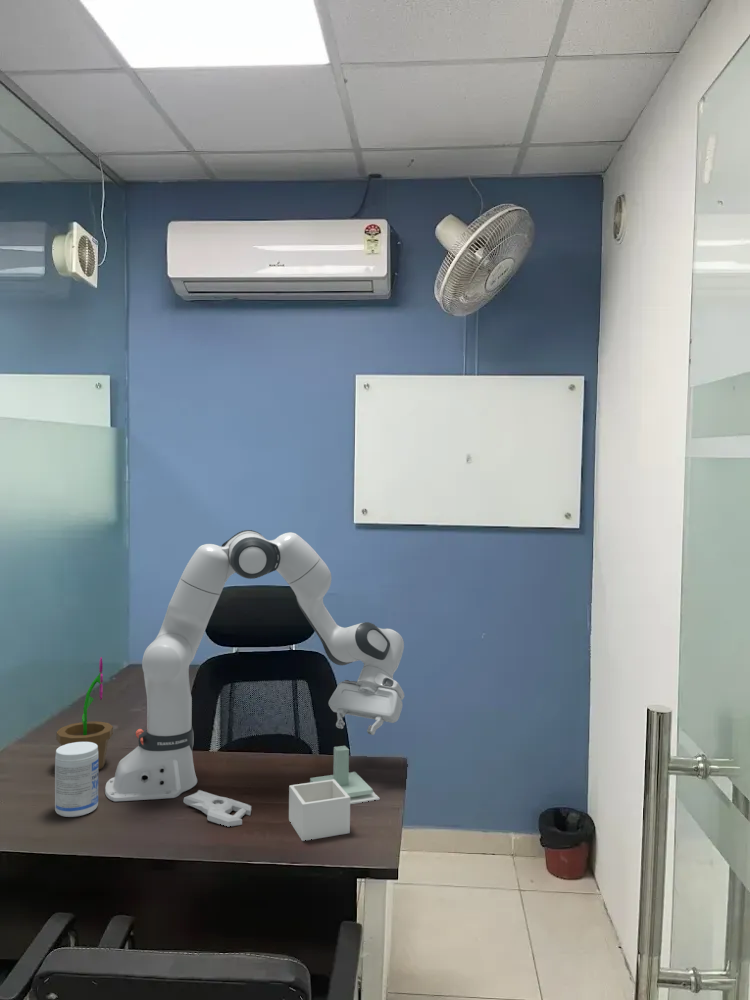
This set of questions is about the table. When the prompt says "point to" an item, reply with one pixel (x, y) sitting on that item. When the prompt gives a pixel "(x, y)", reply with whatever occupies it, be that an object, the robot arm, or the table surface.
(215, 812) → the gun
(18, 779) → the table surface
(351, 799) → the mat
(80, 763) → the supplement tub
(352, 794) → the lid
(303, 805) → the tub
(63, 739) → the flowerpot
